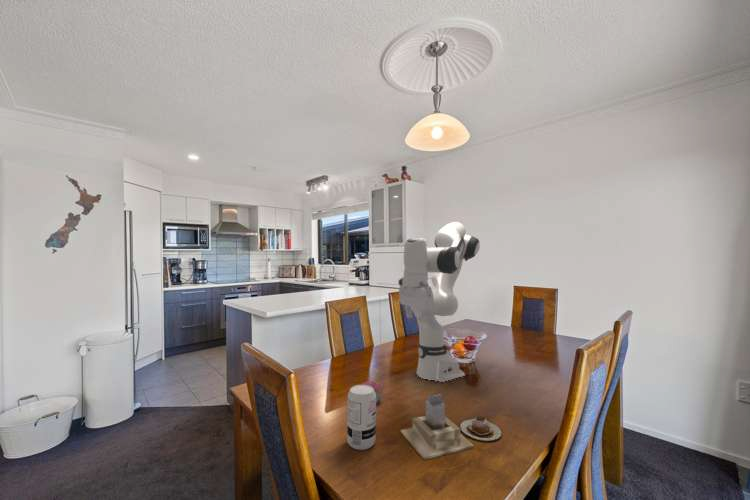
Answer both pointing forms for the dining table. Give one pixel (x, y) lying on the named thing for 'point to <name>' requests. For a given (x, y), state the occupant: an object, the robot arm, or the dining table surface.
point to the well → (435, 439)
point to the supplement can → (361, 417)
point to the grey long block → (435, 412)
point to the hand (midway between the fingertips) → (415, 319)
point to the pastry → (480, 428)
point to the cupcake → (375, 386)
